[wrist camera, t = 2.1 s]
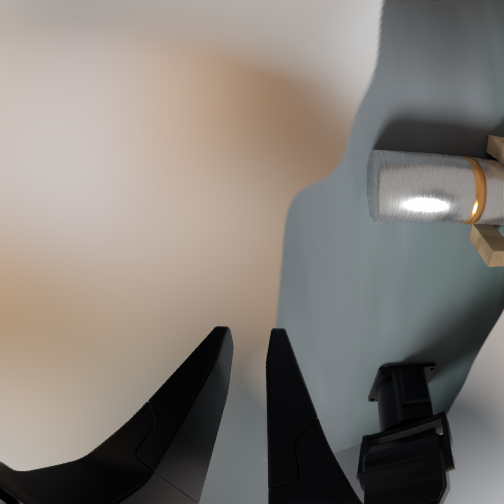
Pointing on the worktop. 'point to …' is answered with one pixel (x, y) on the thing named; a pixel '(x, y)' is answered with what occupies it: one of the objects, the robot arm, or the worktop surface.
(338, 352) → the worktop surface
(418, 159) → the tube
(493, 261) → the brown piece
